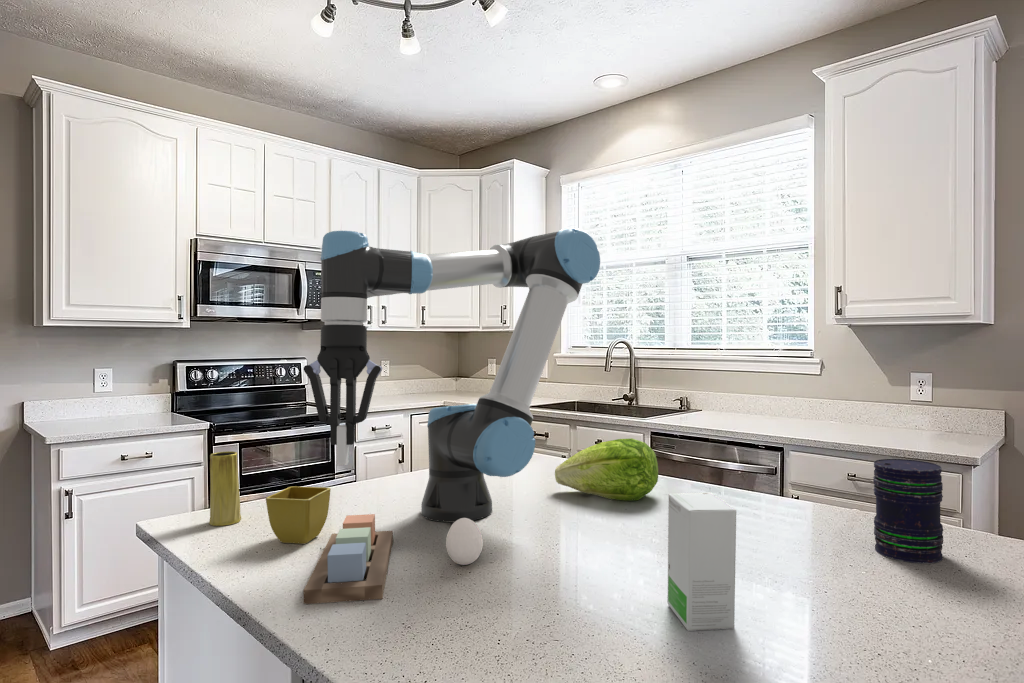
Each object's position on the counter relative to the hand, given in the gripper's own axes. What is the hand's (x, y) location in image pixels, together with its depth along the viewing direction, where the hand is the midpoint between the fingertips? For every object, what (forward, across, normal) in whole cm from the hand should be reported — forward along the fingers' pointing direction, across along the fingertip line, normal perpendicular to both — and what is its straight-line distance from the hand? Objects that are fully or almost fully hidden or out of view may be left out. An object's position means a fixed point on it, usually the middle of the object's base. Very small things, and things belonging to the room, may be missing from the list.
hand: (342, 464), depth 106 cm
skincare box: (+16, -52, +26) cm, 60 cm away
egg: (+16, -21, +3) cm, 26 cm away
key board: (+17, -3, +3) cm, 17 cm away
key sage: (+15, -3, +3) cm, 15 cm away
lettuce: (+15, -54, -38) cm, 67 cm away
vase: (+17, +29, -27) cm, 43 cm away
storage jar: (+14, -95, +7) cm, 96 cm away
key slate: (+15, -3, +11) cm, 19 cm away
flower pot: (+17, +10, -13) cm, 24 cm away
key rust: (+15, -2, -5) cm, 16 cm away
